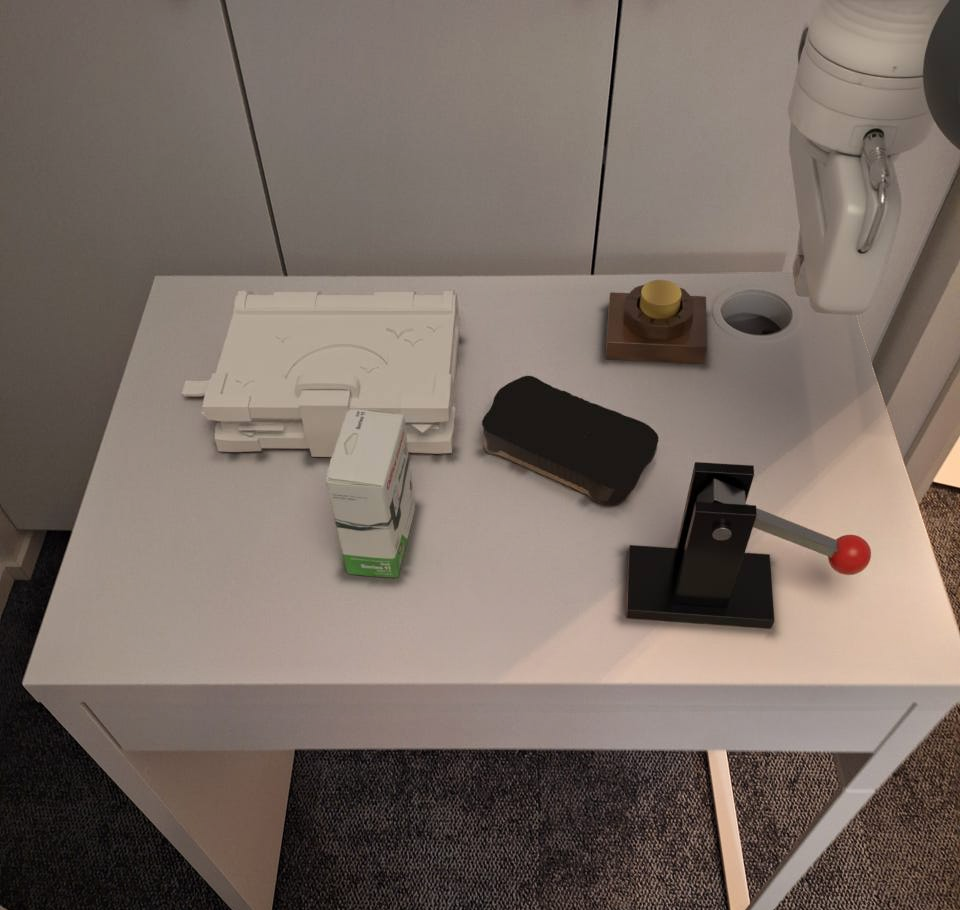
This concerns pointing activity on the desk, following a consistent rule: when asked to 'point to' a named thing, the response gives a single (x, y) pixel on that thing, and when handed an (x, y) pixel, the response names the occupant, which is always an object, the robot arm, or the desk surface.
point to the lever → (797, 531)
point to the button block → (656, 330)
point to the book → (333, 368)
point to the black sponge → (569, 439)
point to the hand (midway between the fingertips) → (804, 284)
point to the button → (660, 299)
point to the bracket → (705, 563)
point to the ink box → (372, 491)
